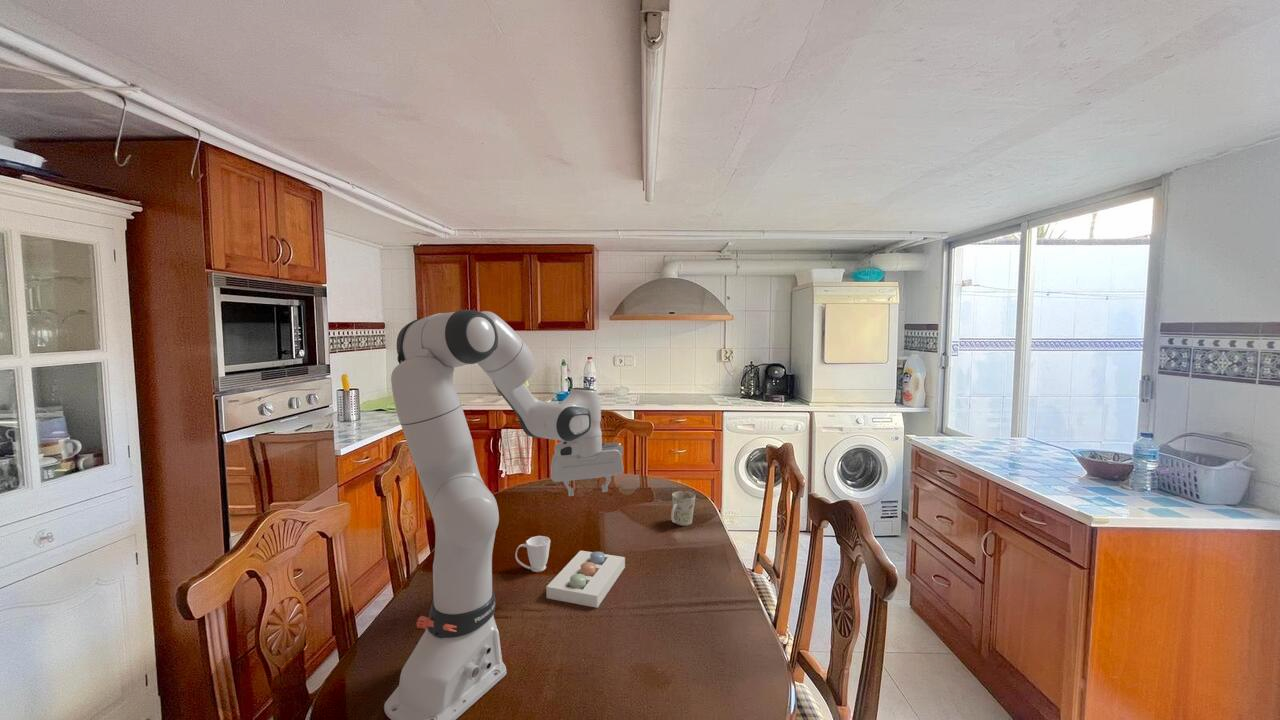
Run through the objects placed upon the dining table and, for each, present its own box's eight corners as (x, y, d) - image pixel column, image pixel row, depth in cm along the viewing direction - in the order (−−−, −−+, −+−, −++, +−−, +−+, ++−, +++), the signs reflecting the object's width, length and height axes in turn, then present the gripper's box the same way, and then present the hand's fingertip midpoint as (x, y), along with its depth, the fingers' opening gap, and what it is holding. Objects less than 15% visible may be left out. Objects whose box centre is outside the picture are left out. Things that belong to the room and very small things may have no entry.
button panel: (597, 607, 114) (597, 596, 114) (546, 598, 118) (546, 586, 118) (624, 567, 134) (624, 557, 134) (580, 560, 138) (580, 550, 138)
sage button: (581, 594, 117) (581, 582, 117) (567, 591, 119) (567, 580, 118) (588, 586, 121) (588, 575, 121) (574, 583, 122) (574, 572, 122)
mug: (699, 520, 167) (699, 493, 167) (683, 533, 157) (683, 504, 156) (678, 516, 172) (678, 489, 171) (661, 527, 161) (661, 499, 161)
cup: (549, 574, 130) (548, 546, 130) (512, 575, 130) (512, 546, 129) (552, 561, 137) (552, 535, 137) (518, 562, 137) (517, 535, 136)
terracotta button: (592, 581, 124) (592, 570, 123) (578, 578, 125) (578, 568, 125) (597, 573, 127) (597, 563, 127) (584, 571, 129) (584, 561, 128)
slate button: (601, 569, 130) (601, 559, 130) (588, 567, 131) (587, 556, 131) (606, 562, 134) (606, 552, 133) (593, 560, 135) (593, 550, 135)
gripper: (620, 438, 135) (622, 485, 136) (549, 445, 130) (551, 493, 131) (625, 444, 129) (626, 492, 130) (550, 451, 124) (552, 501, 125)
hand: (588, 493), depth 130 cm, fingers open, 8 cm apart
